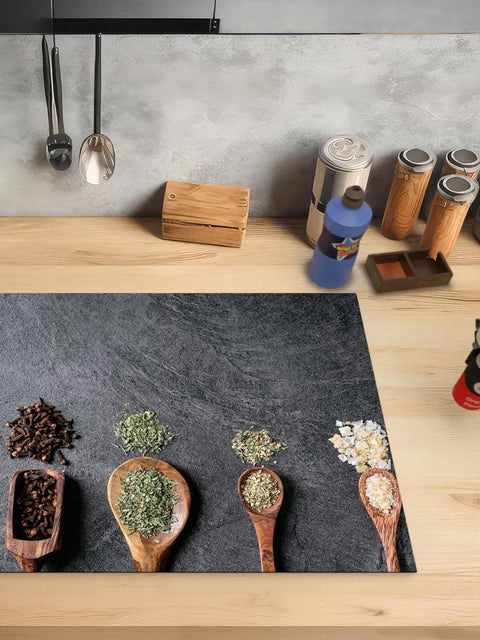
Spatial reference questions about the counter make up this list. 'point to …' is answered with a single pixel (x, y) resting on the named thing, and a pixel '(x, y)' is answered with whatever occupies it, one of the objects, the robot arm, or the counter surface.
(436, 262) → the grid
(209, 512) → the counter surface
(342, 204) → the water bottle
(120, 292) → the counter surface
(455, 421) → the counter surface
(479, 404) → the beverage can
